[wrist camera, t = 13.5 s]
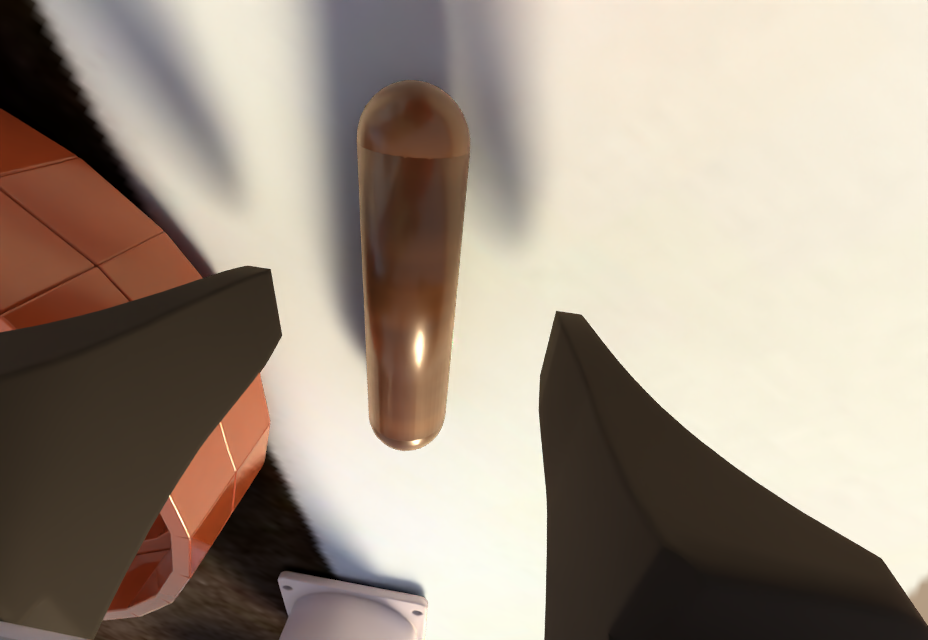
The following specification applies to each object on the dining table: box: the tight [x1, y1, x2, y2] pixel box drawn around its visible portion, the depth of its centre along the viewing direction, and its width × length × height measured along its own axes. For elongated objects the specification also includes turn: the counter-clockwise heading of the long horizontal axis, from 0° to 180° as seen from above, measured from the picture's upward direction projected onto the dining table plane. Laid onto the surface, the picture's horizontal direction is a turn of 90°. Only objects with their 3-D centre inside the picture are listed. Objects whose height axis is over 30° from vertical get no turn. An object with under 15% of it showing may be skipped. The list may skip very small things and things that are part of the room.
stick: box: [357, 80, 470, 451], centre depth 11 cm, size 10×2×2 cm, turn 175°
